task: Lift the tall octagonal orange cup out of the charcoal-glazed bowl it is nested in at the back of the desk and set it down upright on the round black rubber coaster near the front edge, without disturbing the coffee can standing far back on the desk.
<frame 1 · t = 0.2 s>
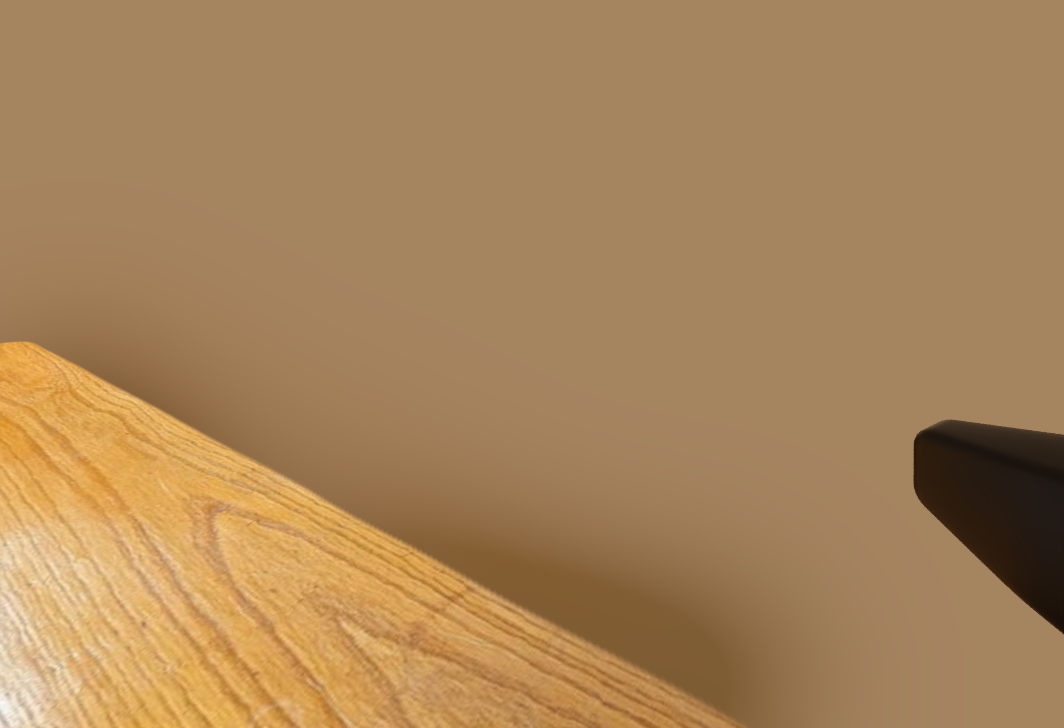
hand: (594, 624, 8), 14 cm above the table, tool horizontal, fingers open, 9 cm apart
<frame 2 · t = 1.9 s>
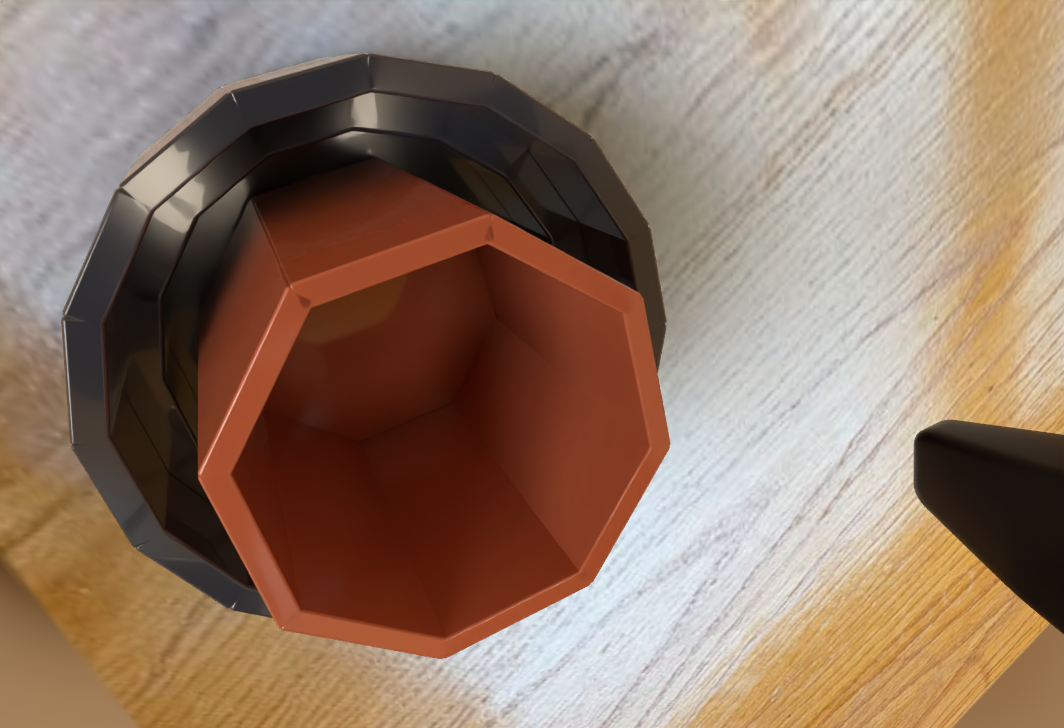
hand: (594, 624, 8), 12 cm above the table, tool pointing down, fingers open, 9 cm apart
octagonal orange cup: (402, 368, 15), in the wide bowl
wide bowl: (360, 306, 19), on the table
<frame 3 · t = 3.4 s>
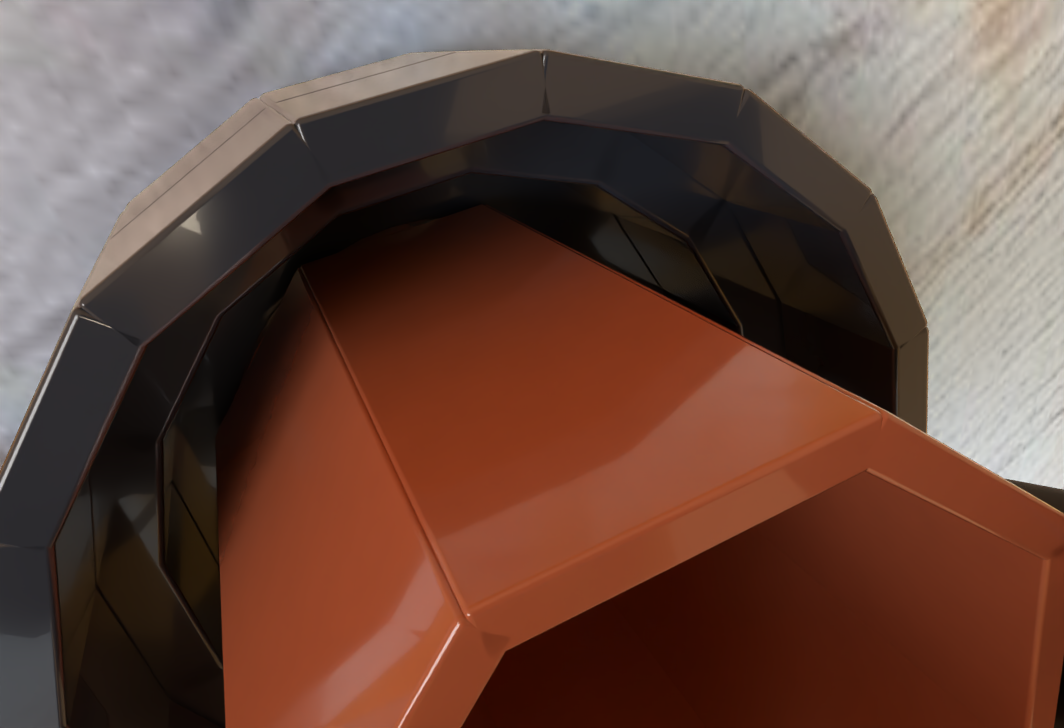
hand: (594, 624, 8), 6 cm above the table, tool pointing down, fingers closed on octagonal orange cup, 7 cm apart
octagonal orange cup: (544, 554, 9), in the wide bowl, touching gripper
wide bowl: (443, 406, 13), on the table
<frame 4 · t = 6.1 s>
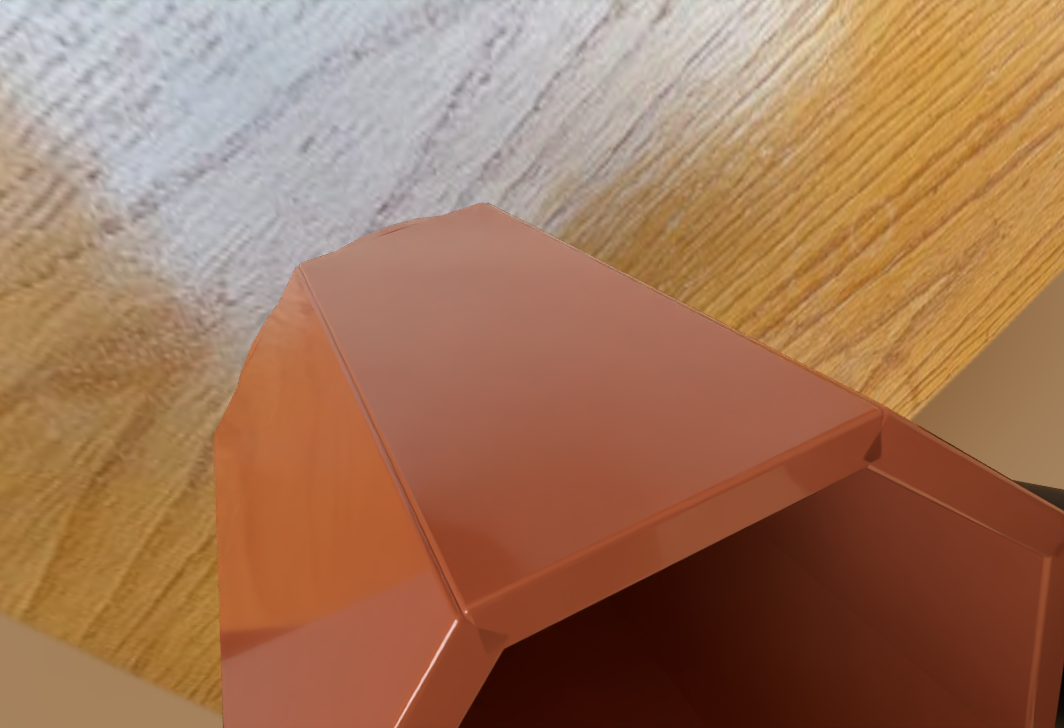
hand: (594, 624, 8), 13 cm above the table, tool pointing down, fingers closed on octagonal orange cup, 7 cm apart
octagonal orange cup: (543, 553, 9), point 12 cm above the table, touching gripper
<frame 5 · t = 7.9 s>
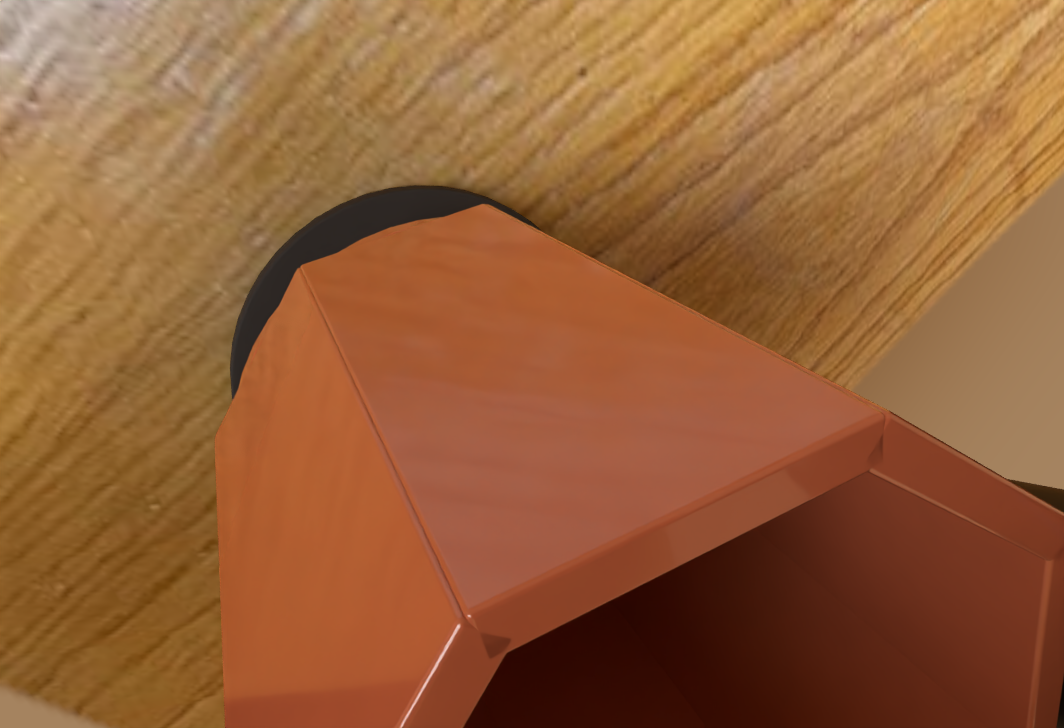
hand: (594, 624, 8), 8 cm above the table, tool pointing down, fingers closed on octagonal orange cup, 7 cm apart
coaster: (422, 366, 15), on the table
octagonal orange cup: (544, 554, 9), point 6 cm above the table, touching gripper
when the fingers open (6 cm above the table, at t = 9.1 s): octagonal orange cup stays where it is, resting on coaster.
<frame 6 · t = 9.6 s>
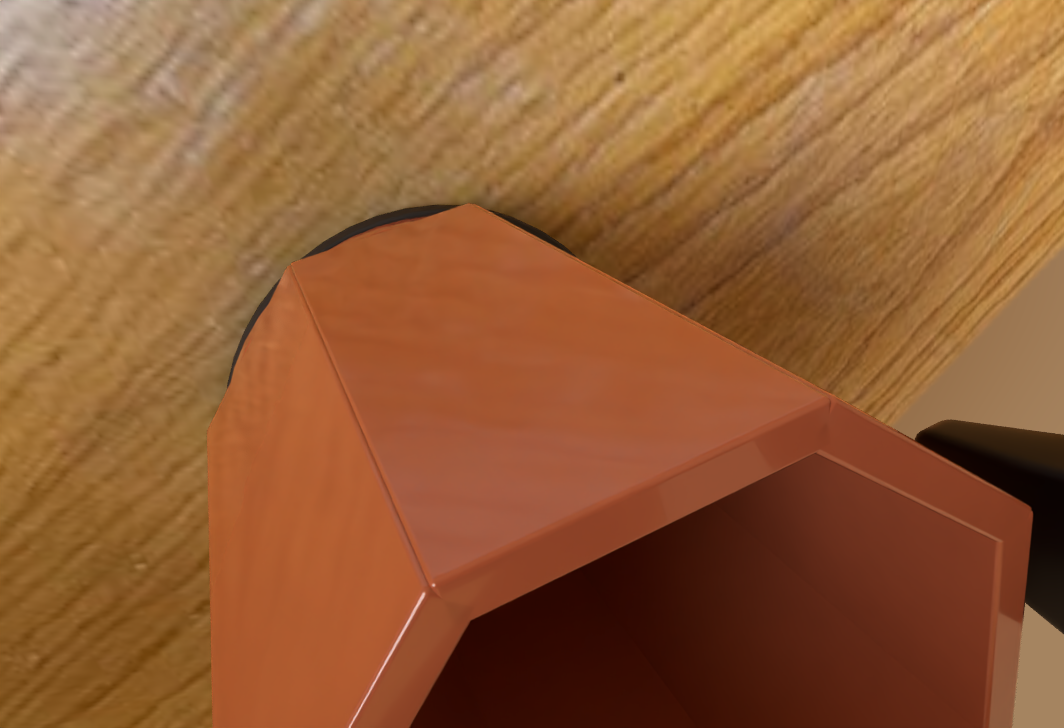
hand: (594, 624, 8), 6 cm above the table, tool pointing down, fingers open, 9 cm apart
coaster: (439, 404, 13), on the table
octagonal orange cup: (526, 543, 9), on the coaster
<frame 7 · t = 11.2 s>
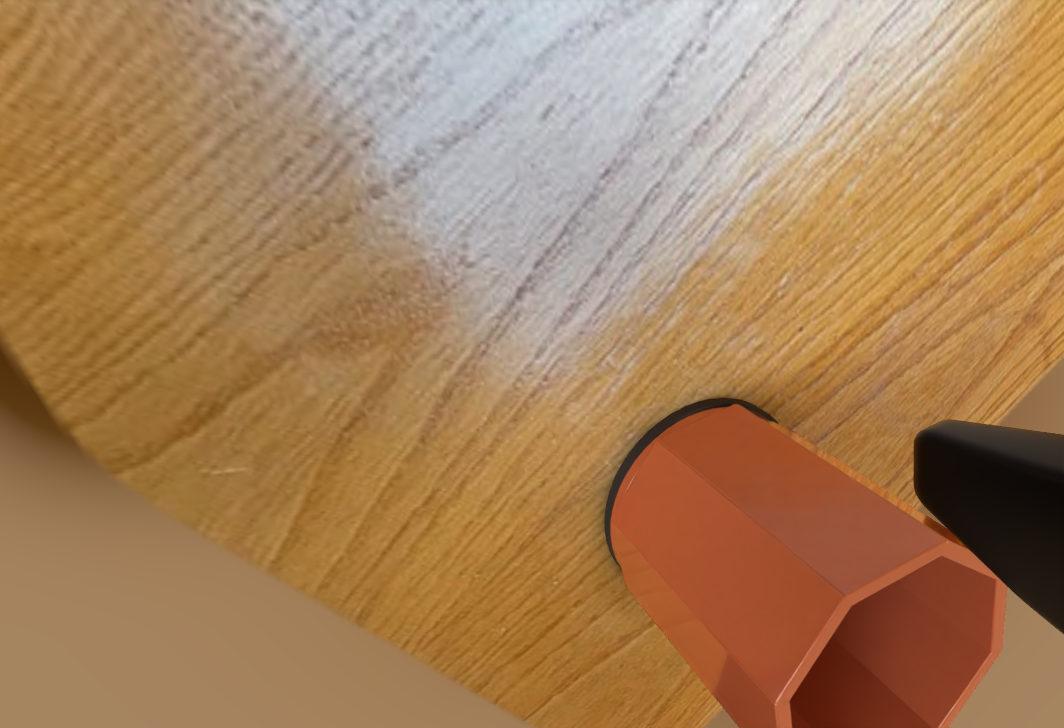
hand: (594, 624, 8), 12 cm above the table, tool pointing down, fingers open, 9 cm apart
coaster: (698, 495, 25), on the table
octagonal orange cup: (784, 574, 21), on the coaster
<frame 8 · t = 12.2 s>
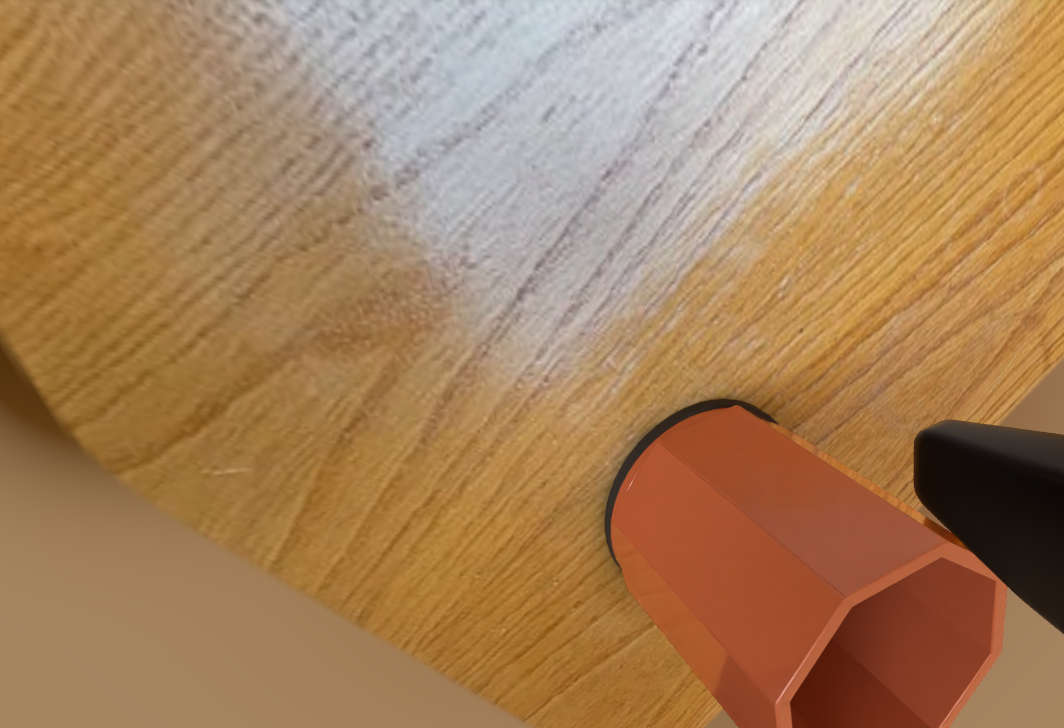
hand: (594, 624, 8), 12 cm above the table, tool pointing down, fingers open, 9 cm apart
coaster: (698, 496, 25), on the table
octagonal orange cup: (784, 575, 21), on the coaster
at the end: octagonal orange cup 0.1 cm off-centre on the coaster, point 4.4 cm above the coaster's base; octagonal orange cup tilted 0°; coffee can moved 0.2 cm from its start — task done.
